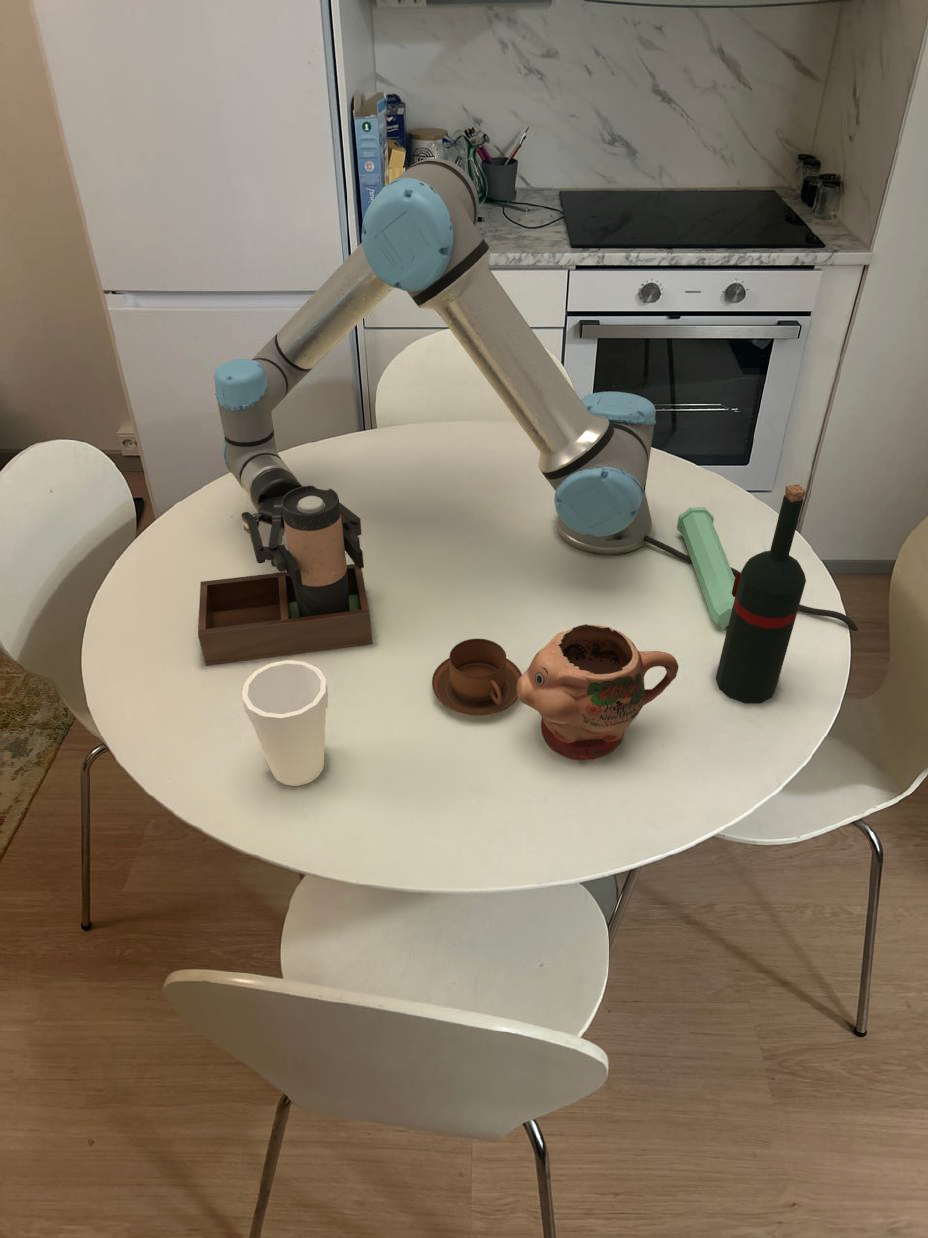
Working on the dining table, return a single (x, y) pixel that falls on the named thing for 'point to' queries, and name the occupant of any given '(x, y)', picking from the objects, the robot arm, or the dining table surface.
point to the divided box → (274, 619)
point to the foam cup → (289, 718)
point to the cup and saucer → (476, 679)
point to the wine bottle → (763, 612)
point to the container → (708, 562)
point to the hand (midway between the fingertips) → (330, 569)
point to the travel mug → (317, 550)
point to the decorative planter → (590, 689)
